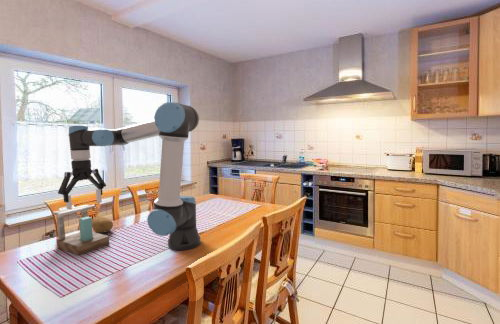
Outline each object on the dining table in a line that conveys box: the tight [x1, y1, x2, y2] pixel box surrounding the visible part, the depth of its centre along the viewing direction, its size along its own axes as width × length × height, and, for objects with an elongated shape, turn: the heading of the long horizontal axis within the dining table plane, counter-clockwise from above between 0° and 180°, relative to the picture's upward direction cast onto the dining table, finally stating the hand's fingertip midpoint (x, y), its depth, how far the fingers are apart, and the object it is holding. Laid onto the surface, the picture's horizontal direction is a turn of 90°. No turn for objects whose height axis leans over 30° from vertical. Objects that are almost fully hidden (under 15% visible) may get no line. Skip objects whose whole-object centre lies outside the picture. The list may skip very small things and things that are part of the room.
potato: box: [91, 216, 114, 234], centre depth 148 cm, size 10×14×8 cm
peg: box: [78, 216, 93, 242], centre depth 127 cm, size 4×4×14 cm
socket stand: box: [52, 204, 110, 256], centre depth 129 cm, size 18×15×17 cm
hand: (85, 205), depth 126 cm, fingers open, 13 cm apart
